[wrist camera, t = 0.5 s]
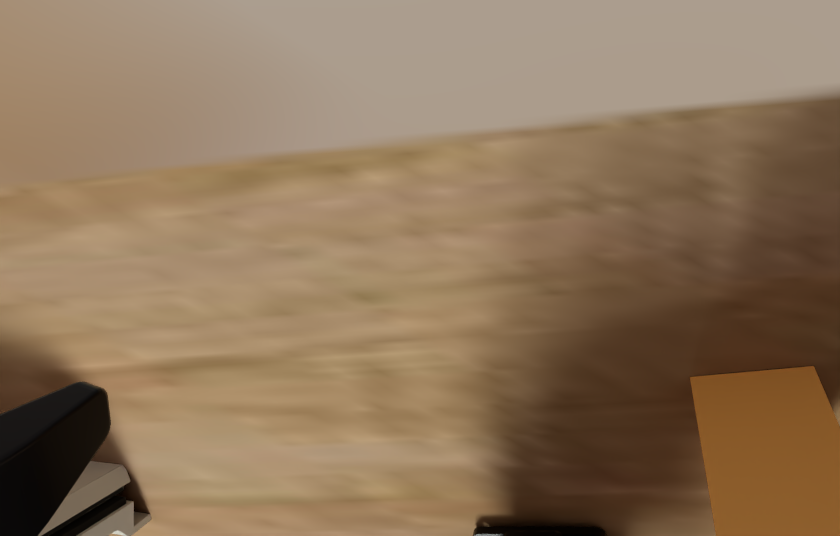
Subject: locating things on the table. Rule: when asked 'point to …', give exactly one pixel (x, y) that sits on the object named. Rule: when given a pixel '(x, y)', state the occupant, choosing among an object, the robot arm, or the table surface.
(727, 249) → the table surface
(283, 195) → the table surface
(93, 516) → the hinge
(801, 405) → the orange rectangular prism
